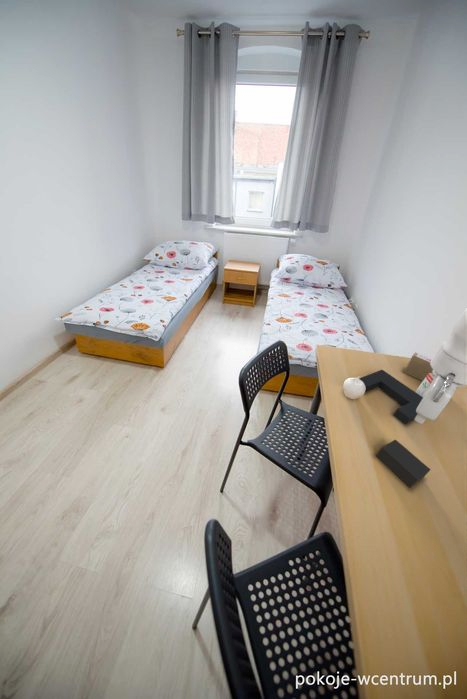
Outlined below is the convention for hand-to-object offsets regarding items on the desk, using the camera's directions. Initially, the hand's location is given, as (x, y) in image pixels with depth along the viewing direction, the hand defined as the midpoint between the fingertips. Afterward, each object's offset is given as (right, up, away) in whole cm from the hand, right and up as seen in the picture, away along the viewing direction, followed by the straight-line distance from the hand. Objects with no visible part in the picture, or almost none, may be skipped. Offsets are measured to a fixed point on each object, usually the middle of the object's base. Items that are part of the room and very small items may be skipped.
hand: (423, 410), depth 66 cm
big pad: (+9, -2, +30) cm, 32 cm away
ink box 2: (+24, -3, +32) cm, 40 cm away
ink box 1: (+27, +4, +43) cm, 51 cm away
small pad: (-1, -17, +8) cm, 18 cm away
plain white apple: (-5, -1, +29) cm, 30 cm away
